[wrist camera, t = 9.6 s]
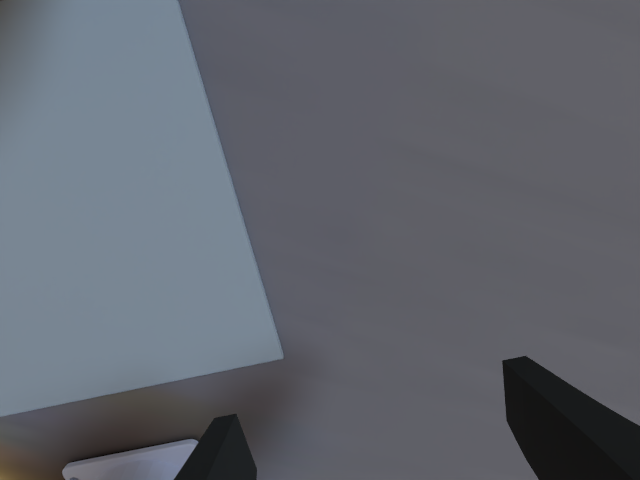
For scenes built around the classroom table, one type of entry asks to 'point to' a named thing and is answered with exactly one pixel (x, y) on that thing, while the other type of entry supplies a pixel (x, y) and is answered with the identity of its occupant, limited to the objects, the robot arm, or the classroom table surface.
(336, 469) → the classroom table surface
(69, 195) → the t board
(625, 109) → the classroom table surface
